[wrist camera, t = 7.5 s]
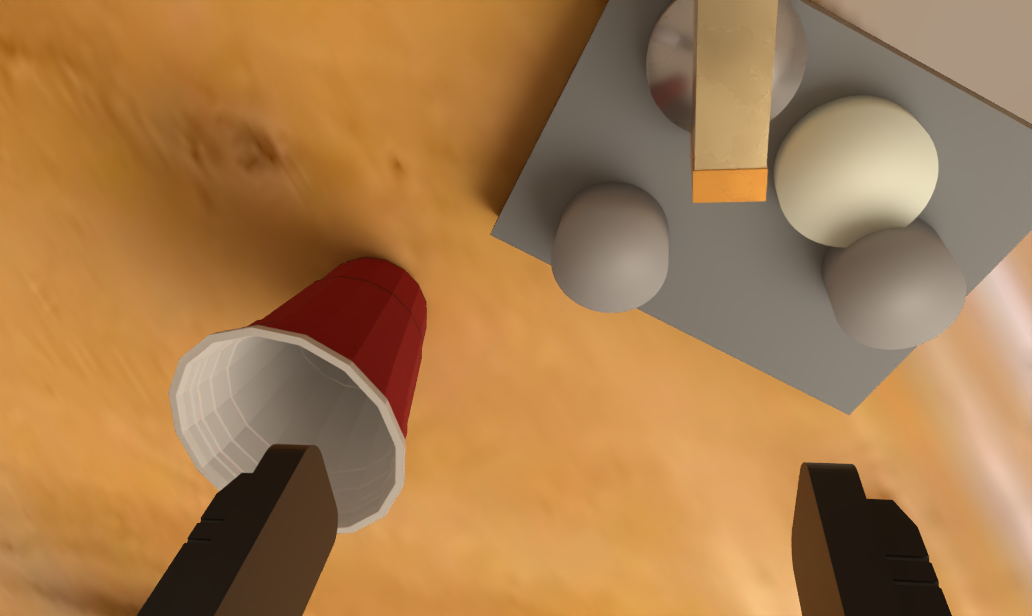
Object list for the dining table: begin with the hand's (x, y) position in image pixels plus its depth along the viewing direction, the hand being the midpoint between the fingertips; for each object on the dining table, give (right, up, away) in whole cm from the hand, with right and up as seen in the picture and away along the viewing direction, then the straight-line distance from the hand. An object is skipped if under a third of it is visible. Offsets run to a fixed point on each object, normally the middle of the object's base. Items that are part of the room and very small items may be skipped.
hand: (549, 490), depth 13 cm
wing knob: (+8, +13, +18) cm, 23 cm away
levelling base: (+11, +9, +22) cm, 26 cm away
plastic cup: (-8, +4, +30) cm, 31 cm away
